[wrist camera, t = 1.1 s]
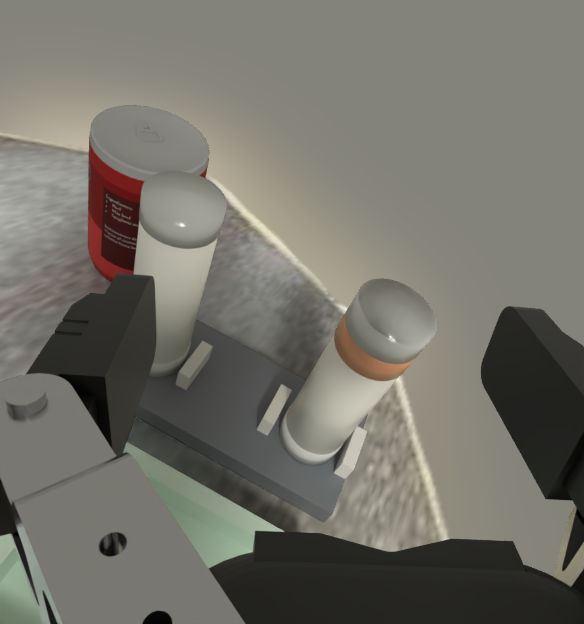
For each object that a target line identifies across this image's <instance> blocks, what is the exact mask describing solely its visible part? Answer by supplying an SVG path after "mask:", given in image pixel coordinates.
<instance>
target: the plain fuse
mask: <svg viewBox="0 0 584 624" xmlns="http://www.w3.org/2000/svg"><path fill="white" fill-rule="evenodd" d="M226 208H227V202H226V198H225V196H224V194H223V193H222V191H221V190H220V189H219V188H218V187H217V186H216V185H215V184H213V183H212V182H210V181H209V180H207V179H205V178H203V177H201V176H198V175H195V174H192V173H188V172H182V171H165V172H160V173H157V174H154V175H152V176H151V177H149V178H148V179H147V180H146V181H145V182H144V184H143V186H142V190H141V199H140V209H139V228H138V237H137V246H136V255H135V265H134V274H136V275H148V276H153V278H154V282H155V302H156V333H157V339H156V351H155V357H154V361H153V365H152V368H151V371H150V374H149V376H150V377H165V376H169V375H172V374H174V373H176V372H177V371H178V370H180V369H181V368H182V367H183V365H184V364H185V362H186V359H187V355H188V352H189V348H190V344H191V337H192V334H193V330H194V326H195V322H196V318H197V315H198V311H199V307H200V303H201V299H202V296H203V292H204V288H205V284H206V280H207V277H208V273H209V269H210V265H211V261H212V257H213V254H214V250H215V246H216V242H217V238H218V236H219V234H220V231H221V227H222V223H223V220H224V216H225V212H226Z"/></svg>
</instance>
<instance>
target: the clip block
mask: <svg viewBox="0 0 584 624" xmlns="http://www.w3.org/2000/svg"><path fill="white" fill-rule="evenodd" d="M305 382H306V379H304V378H302V377H300V376H298V375H296V374H295V373H293V372H291V371H289V370H287V369H285V368H284V367H282V366H280V365H278V364H276V363H275V362H273V361H271V360H269V359H267V358H265V357H264V356H262V355H260V354H258V353H256V352H255V351H253V350H251V349H249V348H247V347H245V346H244V345H242V344H240V343H238V342H236V341H235V340H233V339H231V338H229V337H227V336H225V335H224V334H222V333H220V332H218V331H216V330H214V329H213V328H211V327H209V326H207V325H205V324H204V323H202V322H200V321H198V320H196V322H195V326H194V330H193V334H192V337H191V344H190V348H189V352H188V355H187V359H186V362H185V364H184V365H183V367H182V368H181V369H180V370H178V371H177V372H176V373H174V374H172V375H169V376H165V377H150V376H149V377H148V380H147V383H146V386H145V389H144V392H143V395H142V398H141V401H140V404H139V407H138V409H137V412H136V415H135V416H136V417H138V418H140V419H141V420H143V421H145V422H147V423H148V424H150V425H152V426H154V427H156V428H157V429H159V430H161V431H163V432H164V433H166V434H168V435H170V436H171V437H173V438H175V439H177V440H179V441H180V442H182V443H184V444H186V445H187V446H189V447H191V448H193V449H194V450H196V451H198V452H200V453H202V454H203V455H205V456H207V457H209V458H210V459H212V460H214V461H216V462H217V463H219V464H221V465H223V466H225V467H226V468H228V469H230V470H232V471H233V472H235V473H237V474H239V475H240V476H242V477H244V478H246V479H248V480H249V481H251V482H253V483H255V484H256V485H258V486H260V487H262V488H263V489H265V490H267V491H269V492H271V493H272V494H274V495H276V496H278V497H279V498H281V499H283V500H285V501H286V502H288V503H290V504H292V505H293V506H295V507H297V508H299V509H301V510H302V511H304V512H306V513H308V514H309V515H311V516H313V517H315V518H316V519H318V520H320V521H322V522H325V521H326V520H327V519H328V518H329V517H330V516H331V515H332V514H333V511H334V508H335V505H336V502H337V500H338V497H339V494H340V491H341V488H342V485H343V483H344V480H345V478H346V477H347V476H348V475H349V474H350V473H351V472H352V471H353V470H354V468H355V465H356V462H357V459H358V456H359V453H360V450H361V448H362V445H363V442H364V439H365V436H366V433H367V431H366V430H364V429H363V427H364V424H365V421H366V418H367V415H368V414H367V415H366V416H365V418H364V419H363V420H362V421H361V422H360V424H359V425H358V426H357V427H356V429H355V430H354V431H353V432H352V433H351V435H350V436H349V437H348V438H347V439H346V441H345V442H344V443H343V445H342V447H341V448H340V449H339V450H338V451H337V453H336V454H335V455H334V456H333V457H332V458H331V459H330V460H329V461H328V462H326V463H324V464H322V465H317V466H310V465H305V464H302V463H300V462H298V461H296V460H294V459H293V458H292V457H291V456H290V455H289V454H288V453H287V452H286V451H285V450H284V448H283V446H282V444H281V441H280V438H279V426H280V423H281V420H282V419H283V417H284V415H285V414H286V412H287V410H288V409H289V407H290V406H291V405H292V404H293V402H294V400H295V399H296V397H297V395H298V393H299V392H300V390H301V388H302V387H303V385H304V383H305Z"/></svg>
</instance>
